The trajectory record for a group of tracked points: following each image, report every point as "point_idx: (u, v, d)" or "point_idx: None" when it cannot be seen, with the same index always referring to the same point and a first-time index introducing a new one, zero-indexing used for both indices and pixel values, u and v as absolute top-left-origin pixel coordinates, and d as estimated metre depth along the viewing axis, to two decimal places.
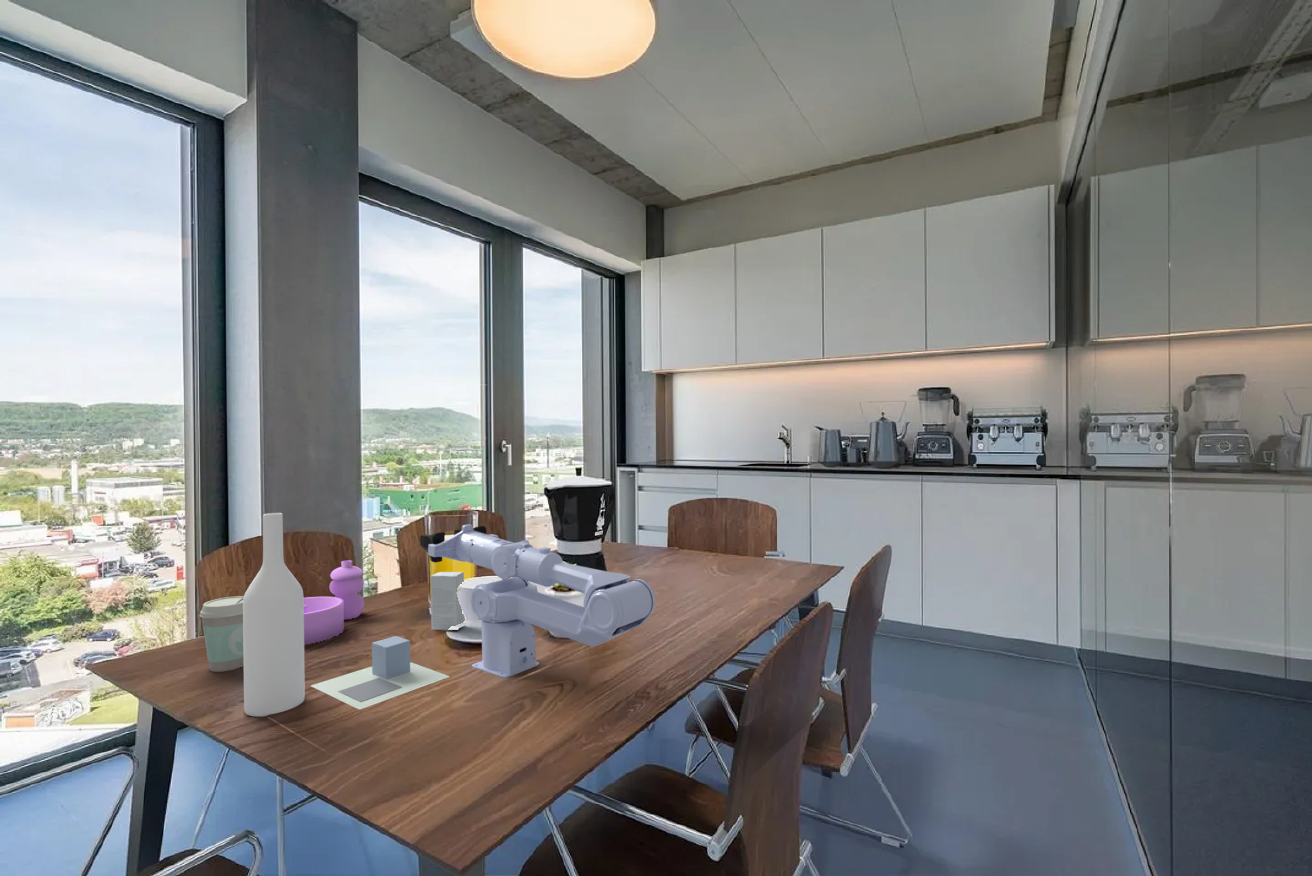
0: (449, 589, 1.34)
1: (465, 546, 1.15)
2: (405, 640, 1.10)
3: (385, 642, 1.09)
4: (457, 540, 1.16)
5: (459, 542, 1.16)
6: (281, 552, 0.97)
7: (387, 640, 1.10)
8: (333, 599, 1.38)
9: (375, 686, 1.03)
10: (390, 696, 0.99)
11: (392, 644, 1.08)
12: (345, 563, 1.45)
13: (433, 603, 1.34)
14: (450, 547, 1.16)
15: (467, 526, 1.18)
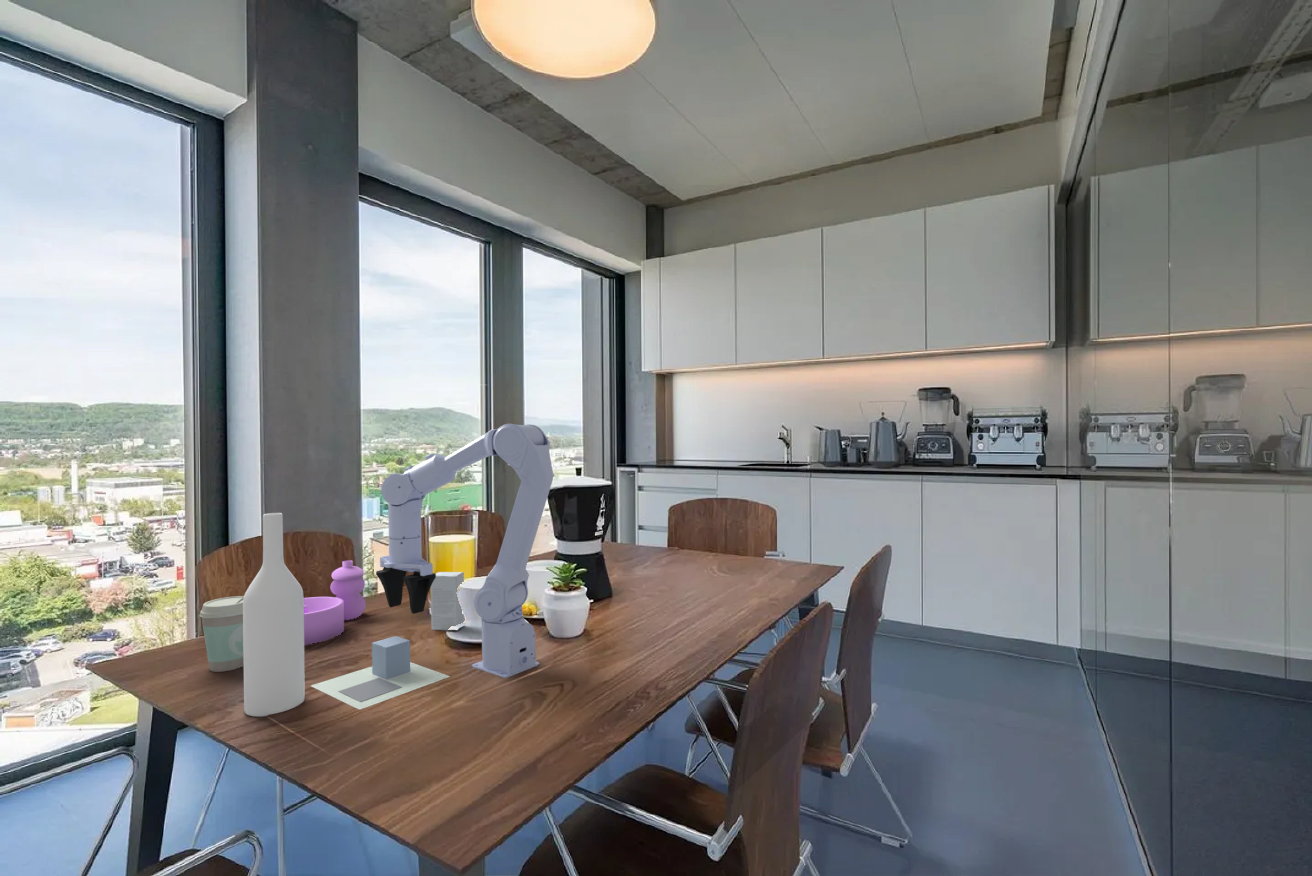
0: (449, 589, 1.34)
1: (409, 546, 1.15)
2: (405, 640, 1.10)
3: (385, 642, 1.09)
4: (405, 562, 1.14)
5: (407, 557, 1.15)
6: (281, 552, 0.97)
7: (387, 640, 1.10)
8: (333, 599, 1.38)
9: (375, 686, 1.03)
10: (390, 696, 0.99)
11: (392, 644, 1.08)
12: (346, 563, 1.45)
13: (433, 603, 1.34)
14: (415, 563, 1.15)
15: (387, 563, 1.14)
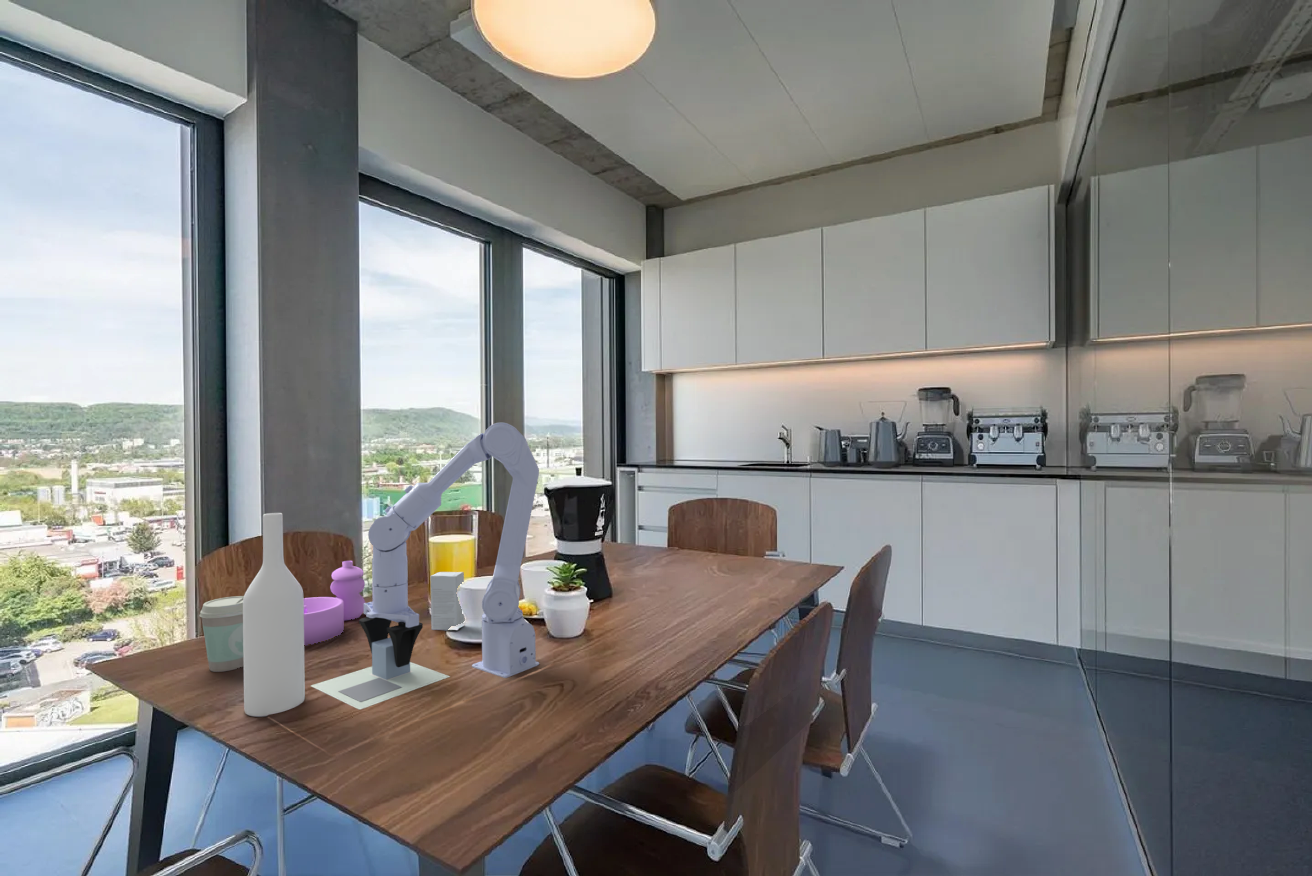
0: (449, 589, 1.34)
1: (394, 594, 1.07)
2: None
3: (385, 642, 1.09)
4: (390, 611, 1.07)
5: (391, 606, 1.07)
6: (281, 552, 0.97)
7: (387, 640, 1.10)
8: (333, 600, 1.38)
9: (375, 686, 1.03)
10: (390, 696, 0.99)
11: (392, 644, 1.08)
12: (346, 563, 1.44)
13: (433, 603, 1.34)
14: (400, 613, 1.07)
15: (370, 613, 1.06)
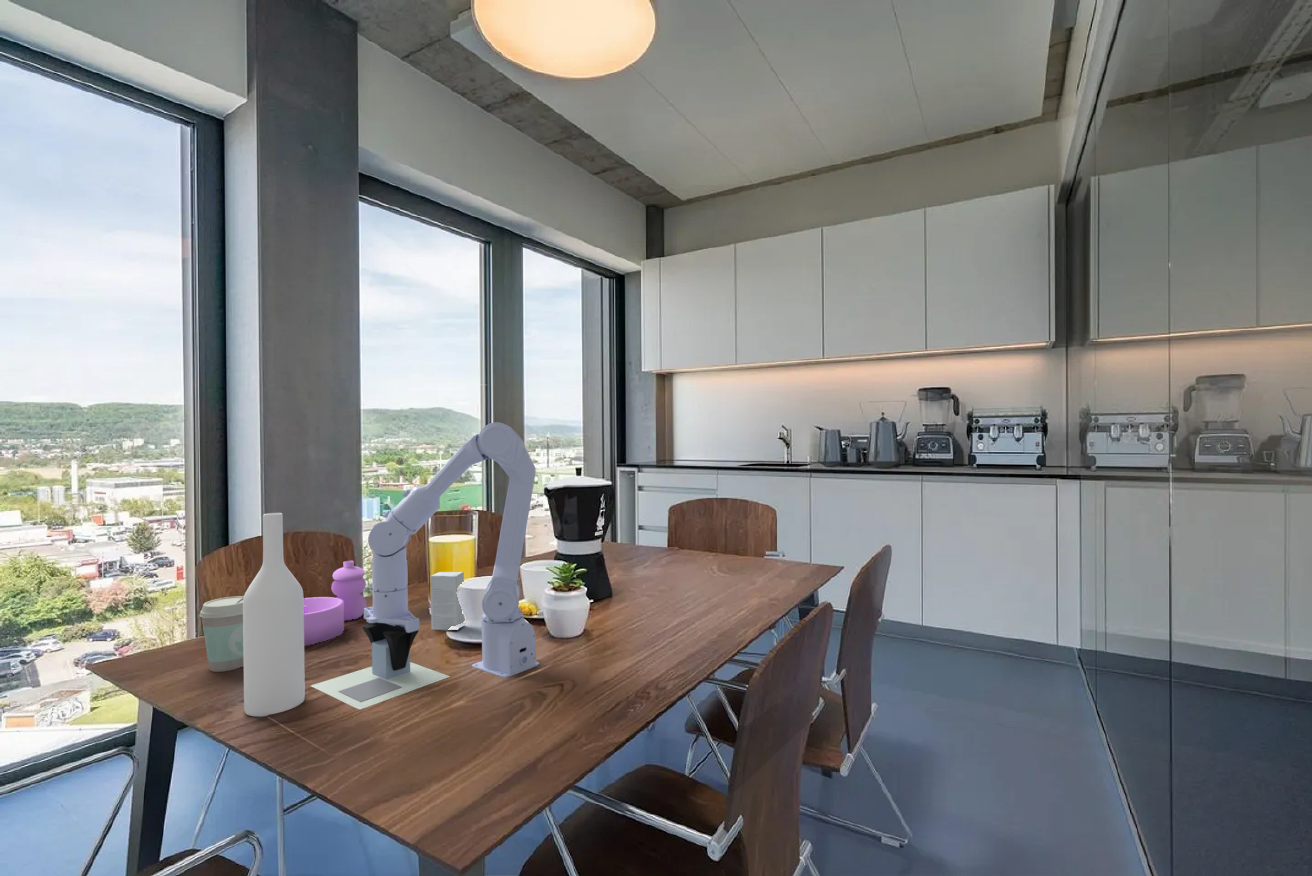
0: (449, 589, 1.34)
1: (394, 599, 1.07)
2: None
3: (385, 642, 1.09)
4: (390, 616, 1.07)
5: (392, 611, 1.07)
6: (281, 552, 0.97)
7: None
8: (334, 600, 1.38)
9: (375, 686, 1.03)
10: (390, 696, 0.99)
11: None
12: (347, 563, 1.44)
13: (433, 603, 1.34)
14: (401, 618, 1.07)
15: (370, 618, 1.06)
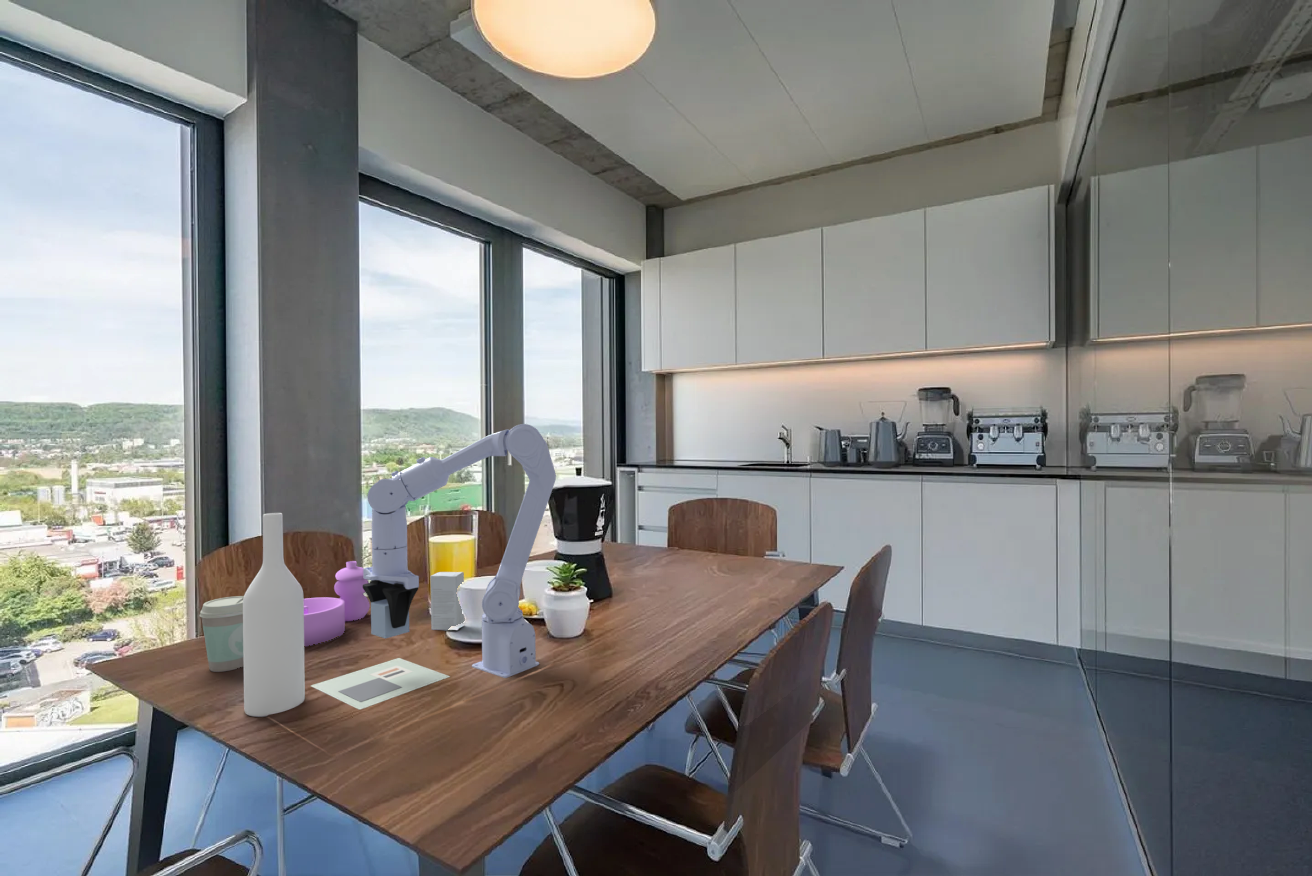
0: (449, 589, 1.34)
1: (394, 557, 1.07)
2: None
3: (384, 602, 1.09)
4: (390, 574, 1.07)
5: (391, 569, 1.07)
6: (281, 552, 0.97)
7: (386, 600, 1.10)
8: (335, 600, 1.37)
9: (375, 686, 1.03)
10: (390, 696, 0.99)
11: None
12: (350, 564, 1.44)
13: (433, 603, 1.34)
14: (400, 576, 1.07)
15: (370, 576, 1.06)
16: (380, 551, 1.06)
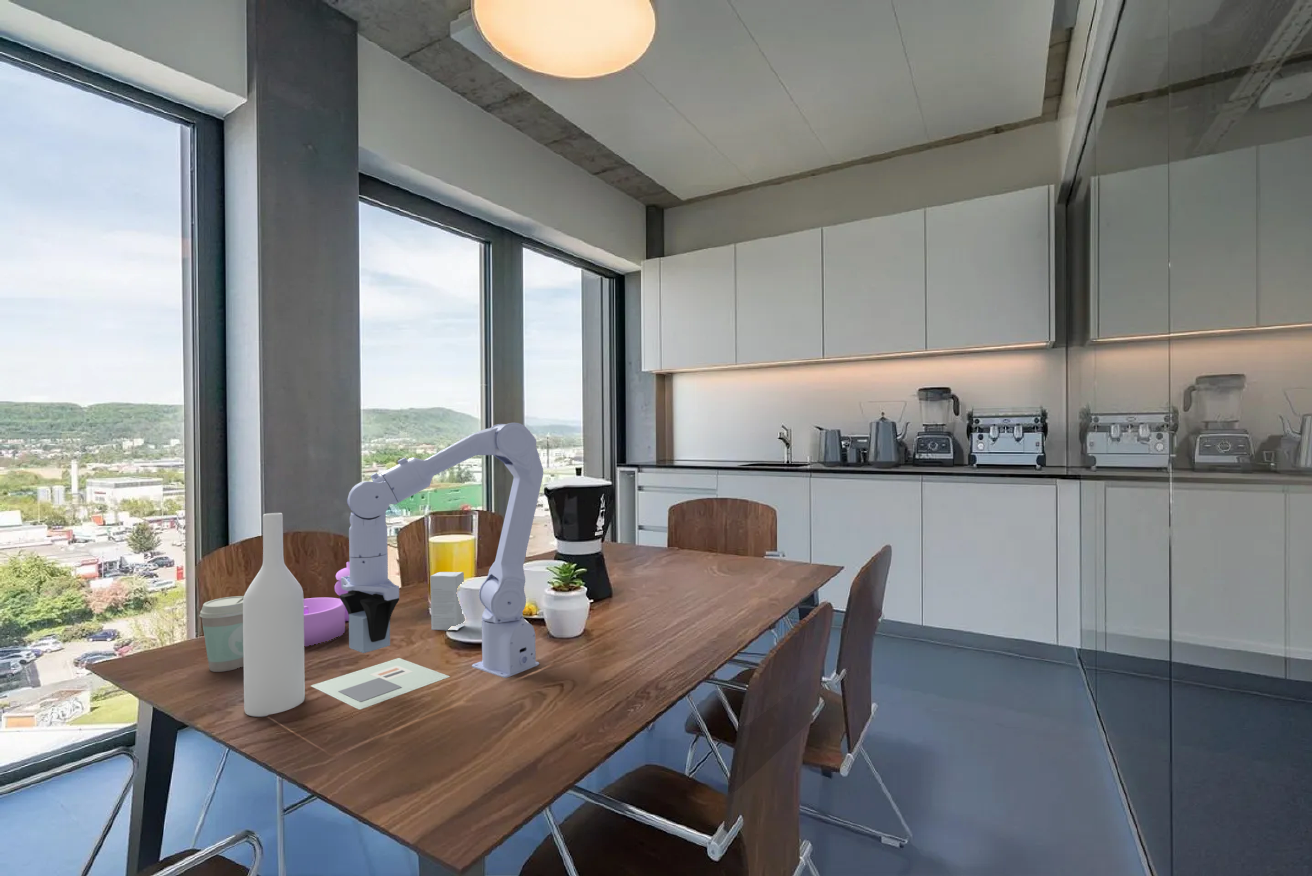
0: (449, 589, 1.34)
1: (373, 566, 1.00)
2: None
3: (363, 614, 1.02)
4: (368, 584, 0.99)
5: (370, 578, 1.00)
6: (281, 552, 0.97)
7: None
8: (336, 600, 1.37)
9: (375, 686, 1.03)
10: (390, 696, 0.99)
11: None
12: None
13: (433, 603, 1.34)
14: (379, 586, 1.00)
15: (346, 586, 0.99)
16: (358, 559, 0.99)
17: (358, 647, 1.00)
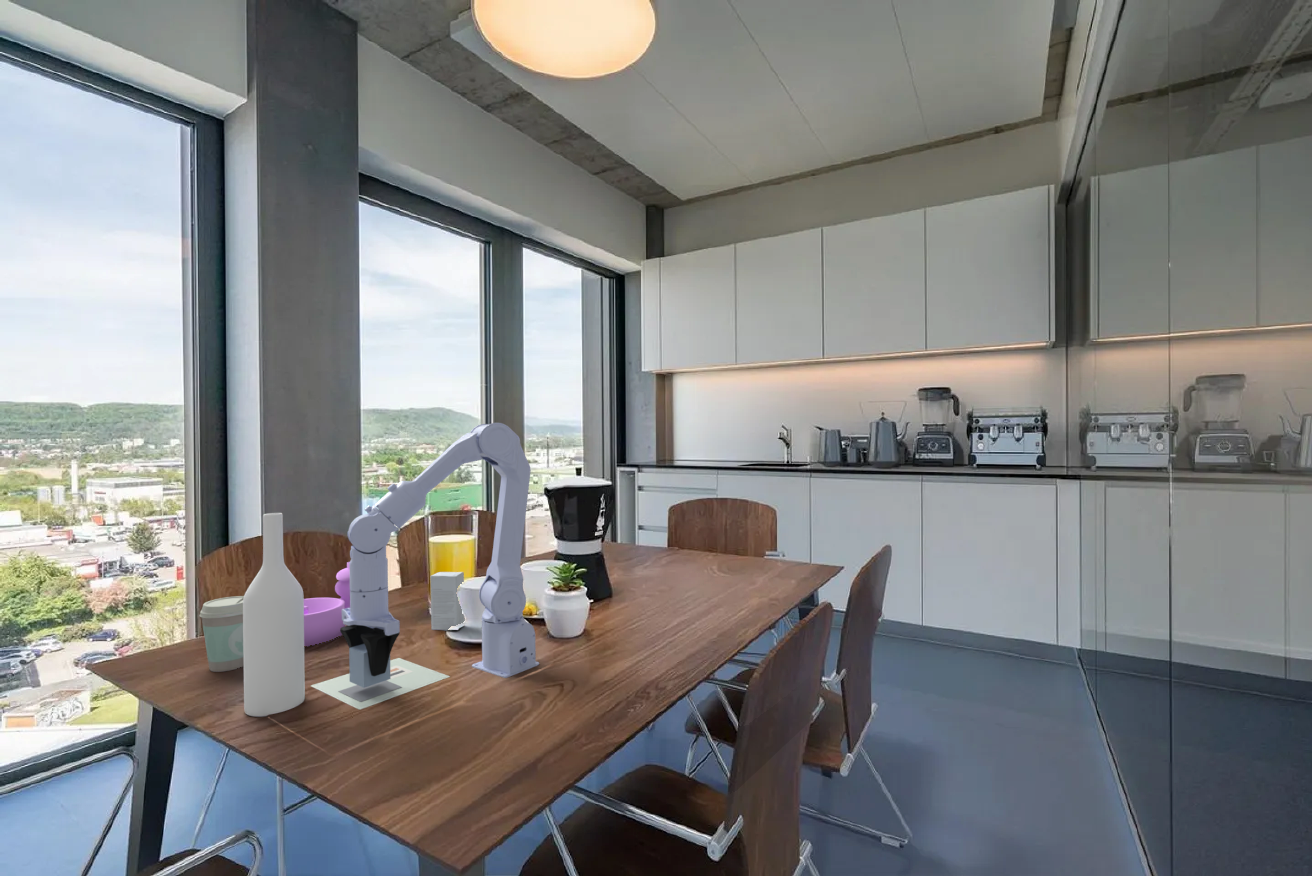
0: (449, 589, 1.34)
1: (373, 600, 1.00)
2: None
3: (364, 647, 1.02)
4: (369, 618, 0.99)
5: (370, 612, 1.00)
6: (281, 552, 0.97)
7: None
8: (336, 600, 1.37)
9: (375, 686, 1.03)
10: (390, 696, 0.99)
11: None
12: None
13: (433, 603, 1.34)
14: (380, 620, 1.00)
15: (347, 620, 0.99)
16: (358, 594, 0.99)
17: (358, 681, 1.00)
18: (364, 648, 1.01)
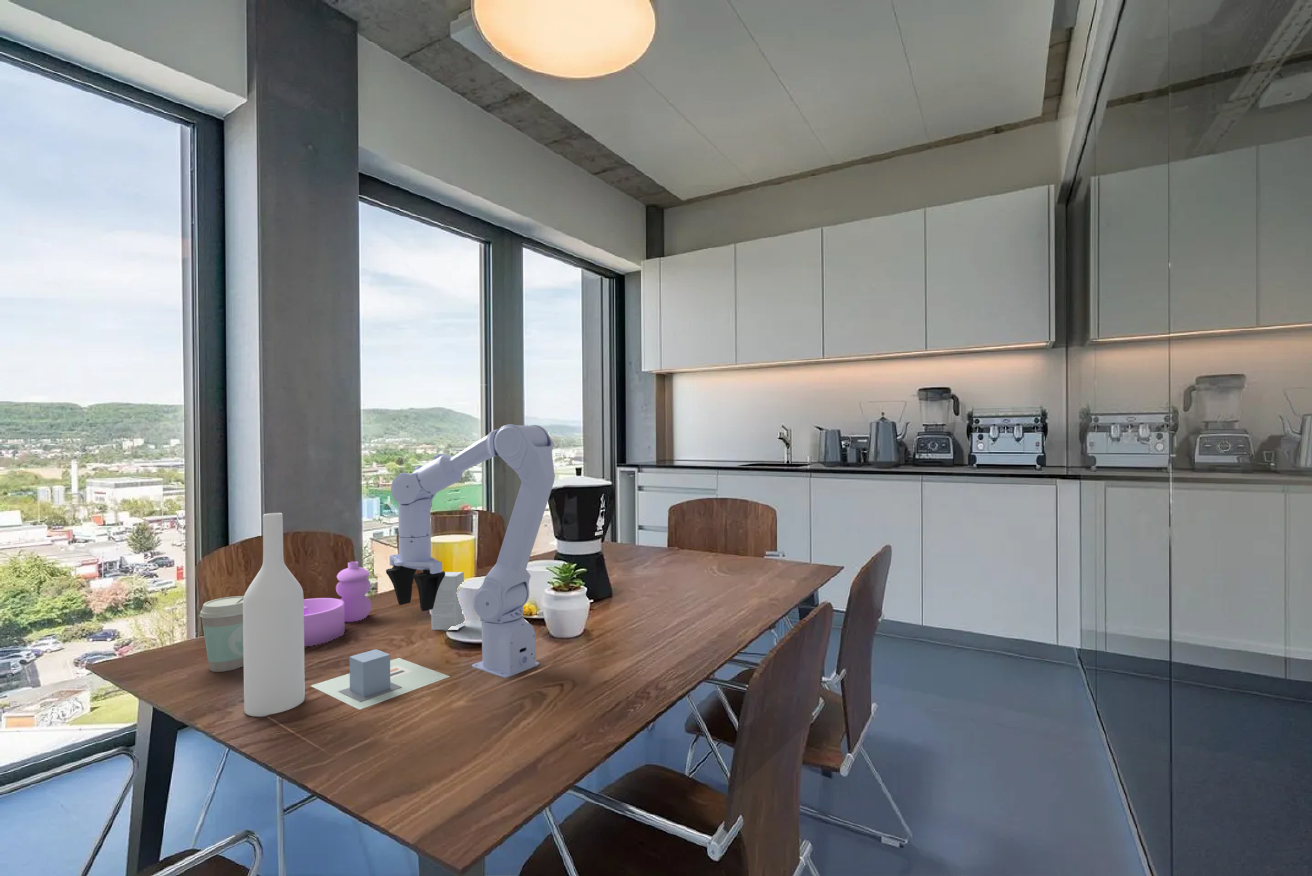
0: (449, 589, 1.34)
1: (419, 545, 1.16)
2: (385, 654, 1.03)
3: (364, 656, 1.02)
4: (415, 560, 1.16)
5: (417, 555, 1.16)
6: (281, 552, 0.97)
7: (366, 654, 1.03)
8: (336, 601, 1.37)
9: None
10: (390, 696, 0.99)
11: (370, 658, 1.00)
12: (351, 564, 1.43)
13: None
14: (425, 562, 1.16)
15: (397, 562, 1.15)
16: (406, 539, 1.16)
17: (358, 690, 1.00)
18: (364, 657, 1.01)
